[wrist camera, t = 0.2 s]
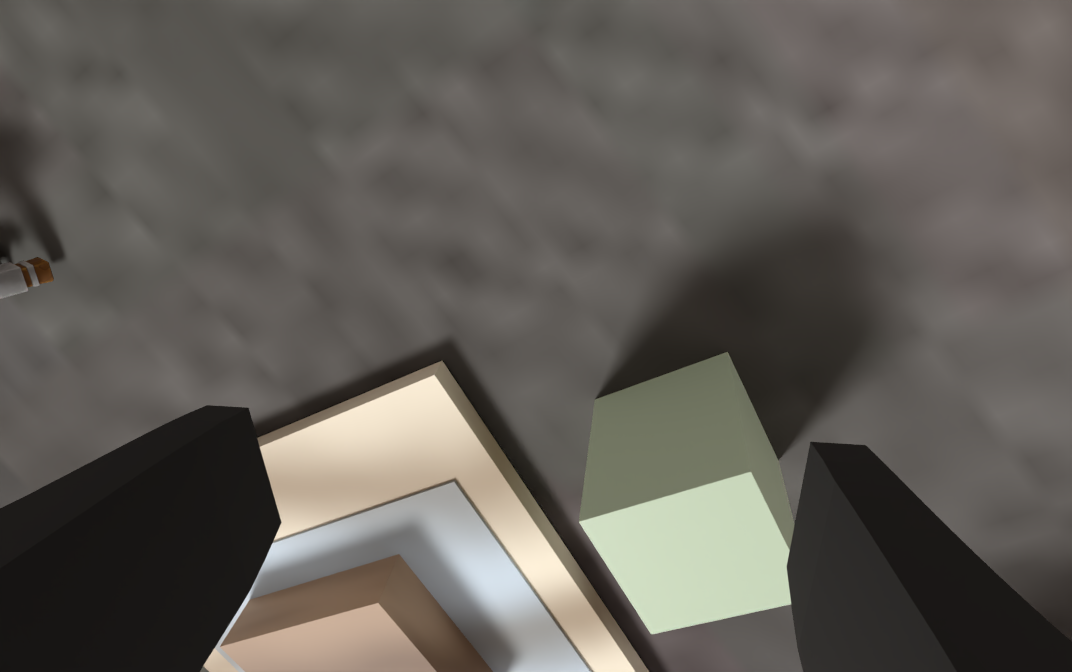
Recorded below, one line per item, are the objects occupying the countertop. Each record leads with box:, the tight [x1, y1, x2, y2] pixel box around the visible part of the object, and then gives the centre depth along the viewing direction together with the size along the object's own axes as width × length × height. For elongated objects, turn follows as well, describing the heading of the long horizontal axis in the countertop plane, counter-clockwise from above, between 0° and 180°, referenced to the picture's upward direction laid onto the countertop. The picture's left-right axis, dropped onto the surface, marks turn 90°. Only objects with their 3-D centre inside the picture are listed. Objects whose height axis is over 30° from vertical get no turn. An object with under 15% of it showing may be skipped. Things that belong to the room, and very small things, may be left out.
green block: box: [579, 352, 795, 634], centre depth 17 cm, size 4×4×5 cm
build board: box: [203, 361, 649, 672], centre depth 25 cm, size 18×17×3 cm
